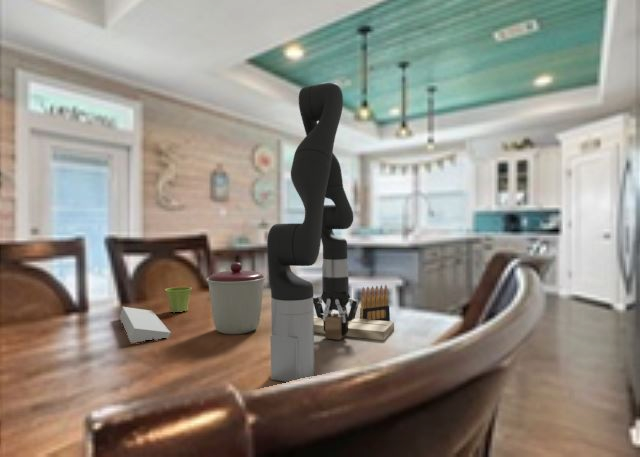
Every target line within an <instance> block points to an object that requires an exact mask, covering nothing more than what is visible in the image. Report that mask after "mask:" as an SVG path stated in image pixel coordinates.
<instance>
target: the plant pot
mask: <svg viewBox="0 0 640 457" xmlns="http://www.w3.org/2000/svg"><path fill="white" fill-rule="evenodd" d="M192 289H193V288H192V287H190V286H175V287H169V288H165V289H164V290H165V292H166V295H167V299H168V305H169V311H170V312H171V311H174V312H173V313H175V312H180V311H185V312H187V311H186V310H188V309H189V302H190V294H191V291H192ZM188 311H189V310H188Z"/></svg>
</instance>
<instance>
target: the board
mask: <svg viewBox="0 0 640 457" xmlns="http://www.w3.org/2000/svg"><path fill="white" fill-rule="evenodd" d="M394 330H395V321H391V320H390V321H380V320H369V319H360V318H359V317H358V318H356V317H355V318H354V319H353V320H352V321H348V333H346V336H345V337H352V338H359V339H361V338H362V339H367V340H368V339H370V340H379V341H385V340H386V339H387V338H388V337H389V336H390V335H391V333H392V332H394ZM314 334H322V335H325V331H324V321H323V319H321V318H318V317H317V314H314Z"/></svg>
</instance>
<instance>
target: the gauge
mask: <svg viewBox="0 0 640 457" xmlns="http://www.w3.org/2000/svg"><path fill="white" fill-rule="evenodd" d="M347 314H348V316H349V312H347ZM324 336H325V339H329V340H337V341H341V340H342V339H343V338H344V337H347V336H346V335H345V336H343V335H342V319H341V316H340V315H339V312H338V313H336V312H334V313H332V312H331V315H328V316H326V317H325V334H324Z"/></svg>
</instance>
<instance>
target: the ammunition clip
mask: <svg viewBox="0 0 640 457" xmlns="http://www.w3.org/2000/svg"><path fill="white" fill-rule="evenodd" d="M359 311H360V312H359V319H369V320H380V321H391V315H390V314H391V313H390V305H389V294H388V286H387V284H385V285H384V288H383V285H380V287H379V286H378V285H376V286H375V288H374V286H373V285H372V286H371V289H370V287H369V286H367V287H366V290H365V287H364V286H363V287H362V288H361V299H360V309H359Z"/></svg>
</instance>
